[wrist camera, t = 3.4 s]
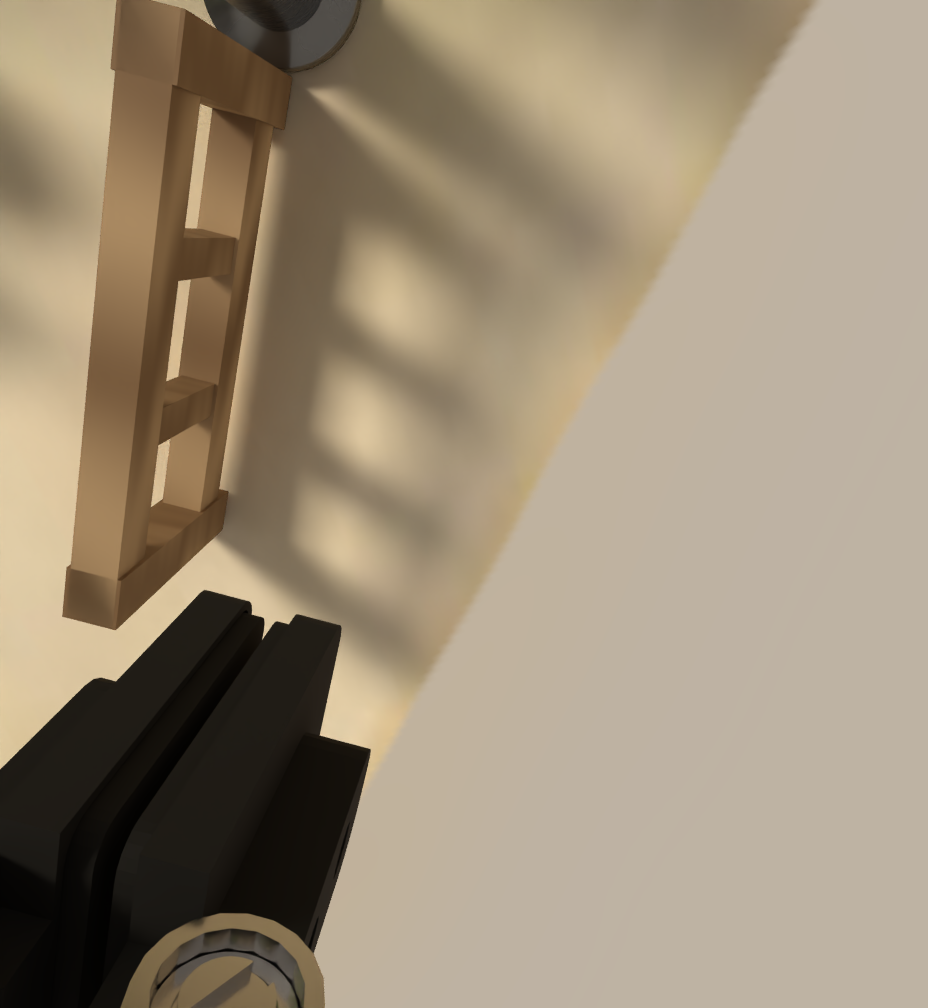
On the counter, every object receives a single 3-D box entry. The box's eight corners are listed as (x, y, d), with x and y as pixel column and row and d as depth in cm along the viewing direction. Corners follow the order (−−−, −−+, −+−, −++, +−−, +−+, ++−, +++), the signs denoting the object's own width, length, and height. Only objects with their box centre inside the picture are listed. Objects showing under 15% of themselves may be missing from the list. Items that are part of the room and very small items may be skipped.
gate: (244, 65, 23) (116, -9, 16) (292, 77, 23) (185, 9, 16) (182, 519, 28) (62, 616, 21) (222, 529, 28) (115, 630, 21)
